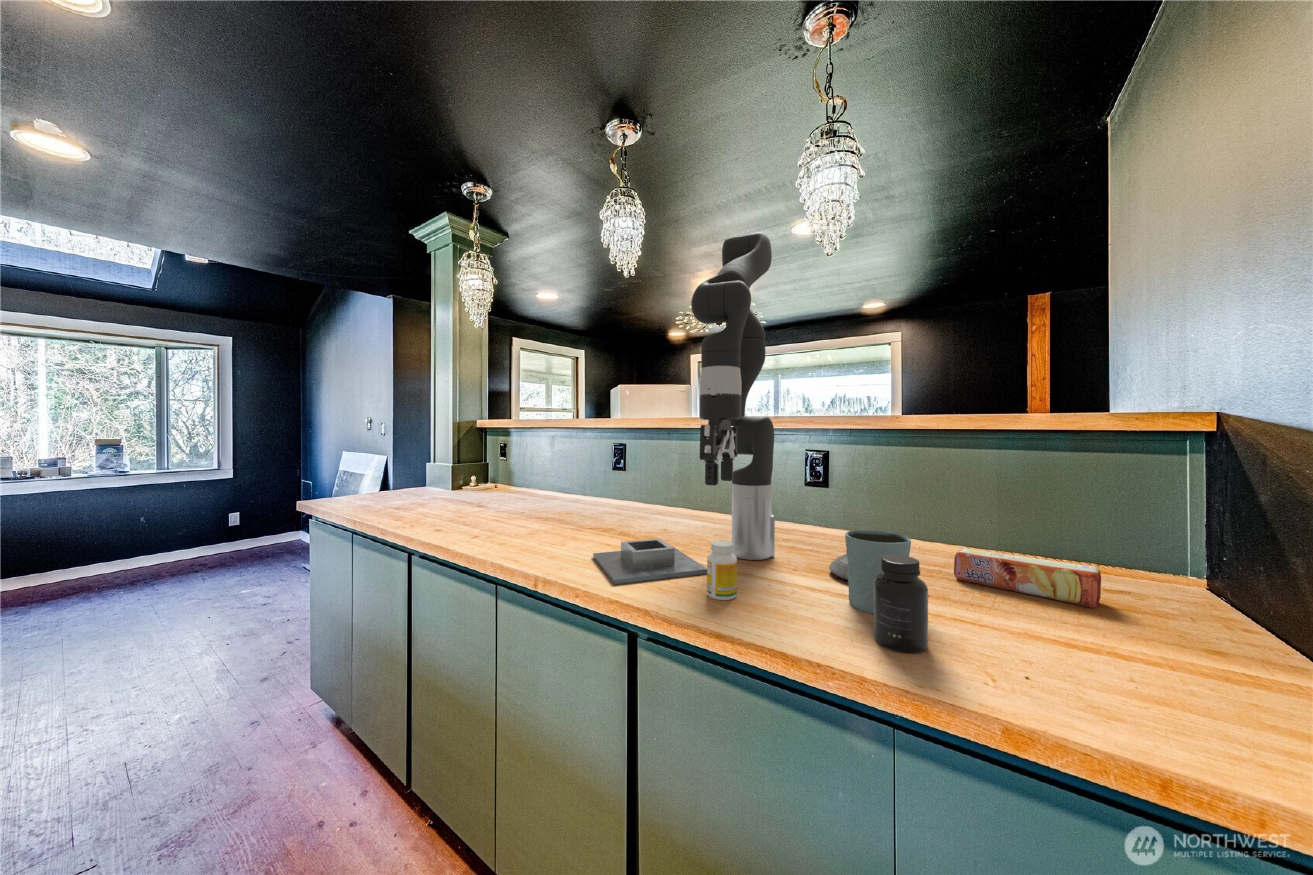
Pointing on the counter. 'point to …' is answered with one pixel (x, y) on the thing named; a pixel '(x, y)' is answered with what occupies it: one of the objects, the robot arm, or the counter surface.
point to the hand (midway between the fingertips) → (719, 482)
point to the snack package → (1030, 576)
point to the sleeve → (646, 562)
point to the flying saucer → (840, 566)
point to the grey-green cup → (869, 562)
